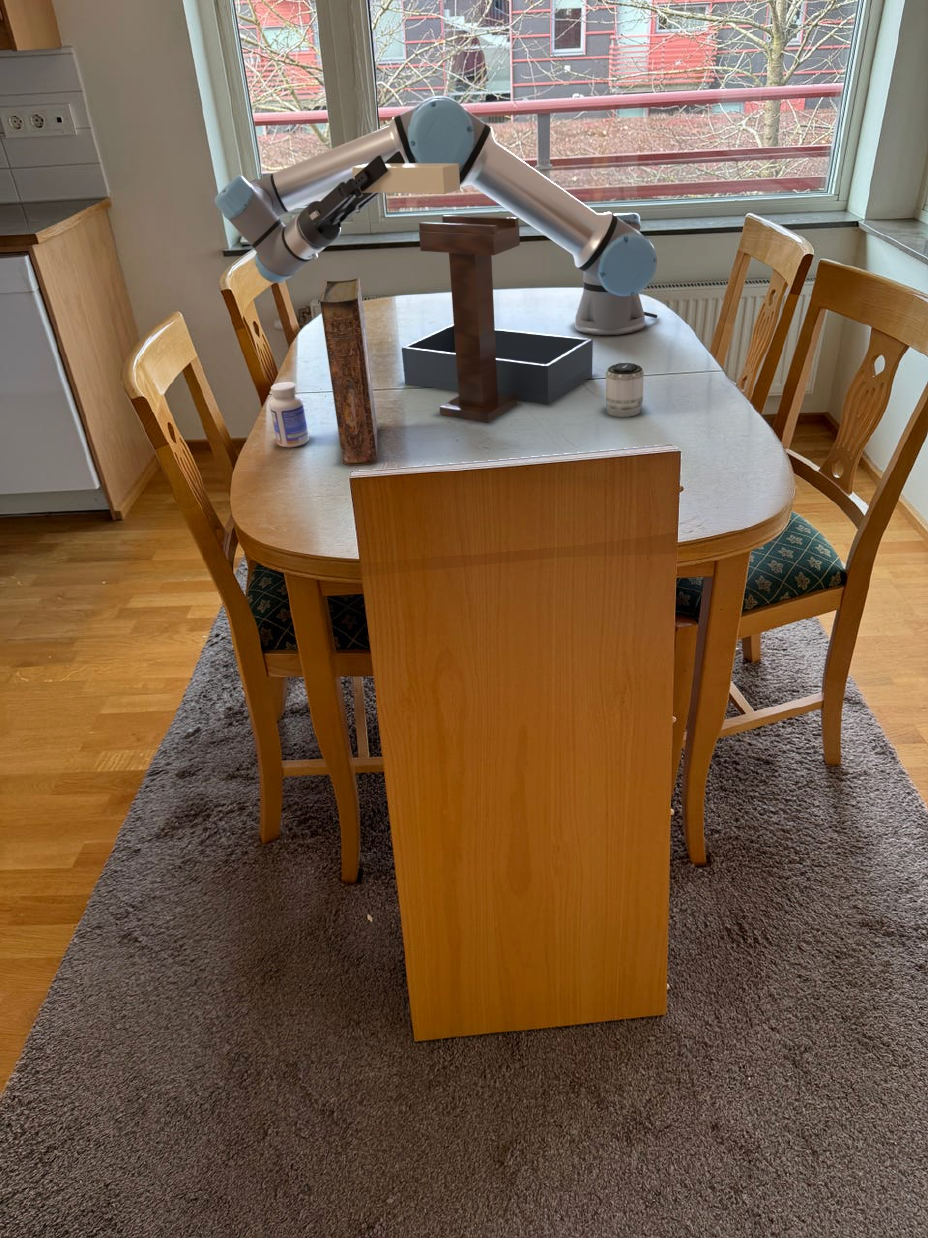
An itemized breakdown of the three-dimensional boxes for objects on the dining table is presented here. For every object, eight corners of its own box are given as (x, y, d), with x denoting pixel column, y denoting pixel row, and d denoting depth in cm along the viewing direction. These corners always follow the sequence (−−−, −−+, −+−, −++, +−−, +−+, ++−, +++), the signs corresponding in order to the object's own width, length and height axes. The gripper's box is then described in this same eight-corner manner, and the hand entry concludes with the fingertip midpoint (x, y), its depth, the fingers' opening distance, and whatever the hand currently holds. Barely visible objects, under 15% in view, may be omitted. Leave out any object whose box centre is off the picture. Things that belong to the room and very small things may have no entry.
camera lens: (646, 406, 158) (648, 361, 153) (636, 419, 153) (638, 373, 149) (611, 403, 160) (612, 359, 156) (600, 415, 155) (601, 370, 151)
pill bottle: (314, 437, 155) (305, 381, 150) (299, 449, 151) (290, 391, 146) (286, 435, 157) (276, 379, 152) (271, 447, 153) (260, 390, 148)
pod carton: (460, 189, 154) (458, 163, 152) (444, 193, 151) (442, 167, 149) (371, 187, 164) (368, 163, 162) (354, 192, 160) (352, 166, 158)
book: (377, 463, 144) (357, 300, 130) (342, 466, 144) (319, 303, 130) (377, 426, 158) (359, 275, 144) (345, 429, 157) (324, 278, 144)
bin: (592, 376, 174) (592, 339, 170) (548, 405, 161) (547, 366, 158) (454, 358, 189) (452, 324, 185) (404, 383, 177) (401, 347, 173)
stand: (527, 405, 162) (522, 216, 145) (498, 424, 155) (489, 227, 138) (461, 395, 169) (449, 213, 152) (430, 413, 162) (414, 224, 145)
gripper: (353, 239, 179) (432, 174, 163) (292, 258, 167) (371, 189, 151) (333, 202, 177) (412, 133, 161) (270, 219, 165) (348, 145, 149)
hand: (392, 160), depth 156 cm, fingers closed on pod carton, 5 cm apart
